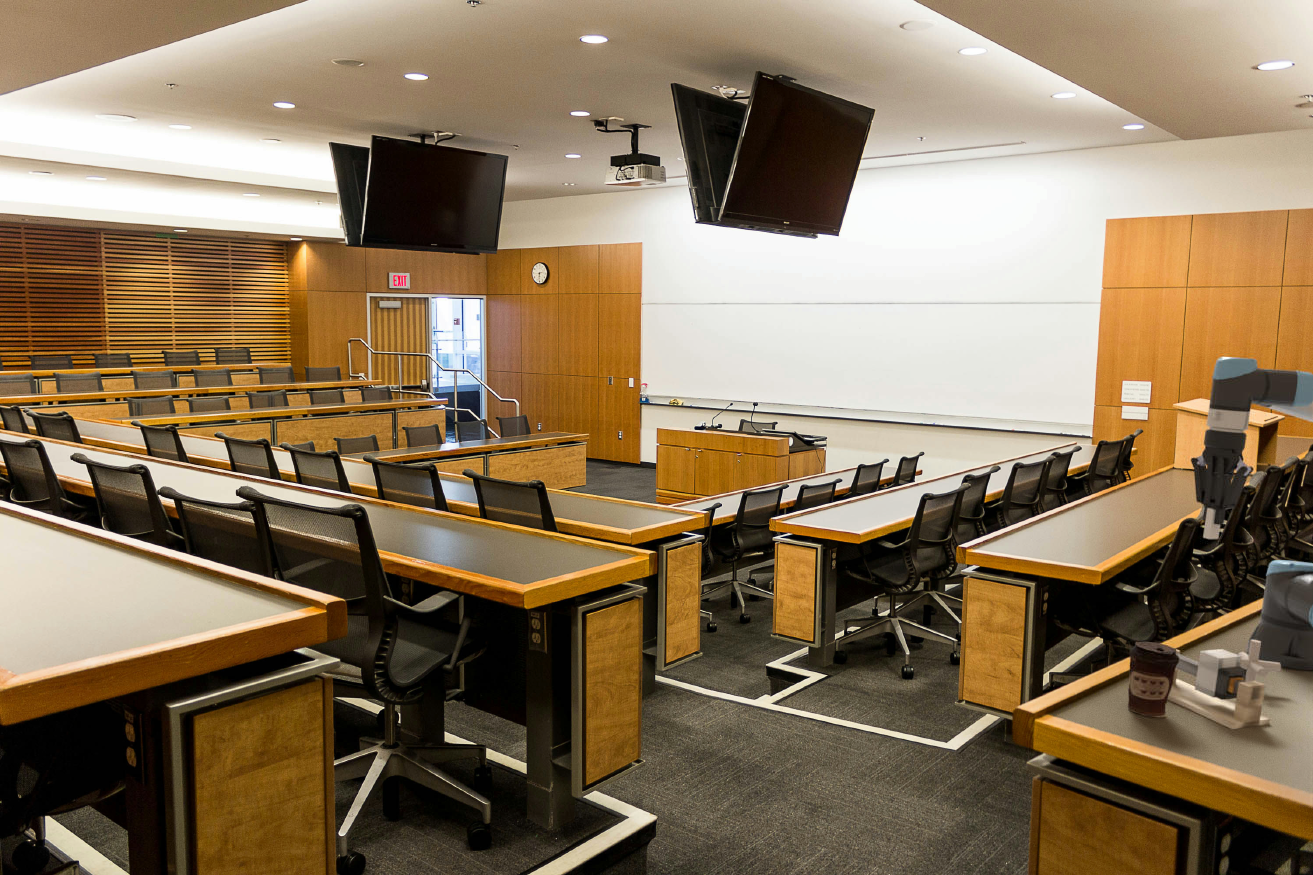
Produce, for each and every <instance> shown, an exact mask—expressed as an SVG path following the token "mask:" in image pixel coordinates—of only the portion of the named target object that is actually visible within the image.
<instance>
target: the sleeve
mask: <svg viewBox="0 0 1313 875" xmlns="http://www.w3.org/2000/svg"><path fill="white" fill-rule="evenodd" d="M1198 662H1199V664H1198V671H1197V677H1196V678H1195V679H1196V680H1195V690H1197V691H1199V692H1202V693H1204V694H1206V695H1209V696H1211V697H1213V698H1215V697H1214V696H1215V689H1216V683H1217V676H1218V669H1219V668H1228V667H1238V666H1239V667H1240V662H1241V656H1239V655H1238V654H1236V653H1234V652H1231V651H1228V650H1226V649H1223V648H1220V649H1208V650H1200V652H1199V658H1198Z"/></svg>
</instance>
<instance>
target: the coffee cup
mask: <svg viewBox="0 0 1313 875" xmlns="http://www.w3.org/2000/svg"><path fill="white" fill-rule="evenodd" d="M1134 644H1135V645H1134V646H1132V647H1131V648H1130V650H1129V656H1130V657H1129V672H1128V675H1129V676H1128V677H1129V679H1128V680H1129V683H1128V688H1127V689H1128V690H1127V692H1128V693H1127V694H1128V695H1127V696H1128V703H1127V708H1128V709H1129V710H1130V711H1132V712H1134V713H1136V714H1139V715H1142V716H1146V717H1151V718H1152V717H1153V718H1164V717H1166V714H1167V713H1166V704H1167V702H1168V695H1169V693H1170V691H1171V688H1172V684H1173V678H1174V673H1175V668H1176V666H1177V664H1178V663H1179V656H1178V655H1176V654H1175V653H1176V651H1177V650H1178V649H1177V648H1175V647H1172V646H1169V645H1167V644H1163V643H1159V642H1154V641H1153V642H1150V641H1136V642H1134ZM1176 649H1177V650H1176Z"/></svg>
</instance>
